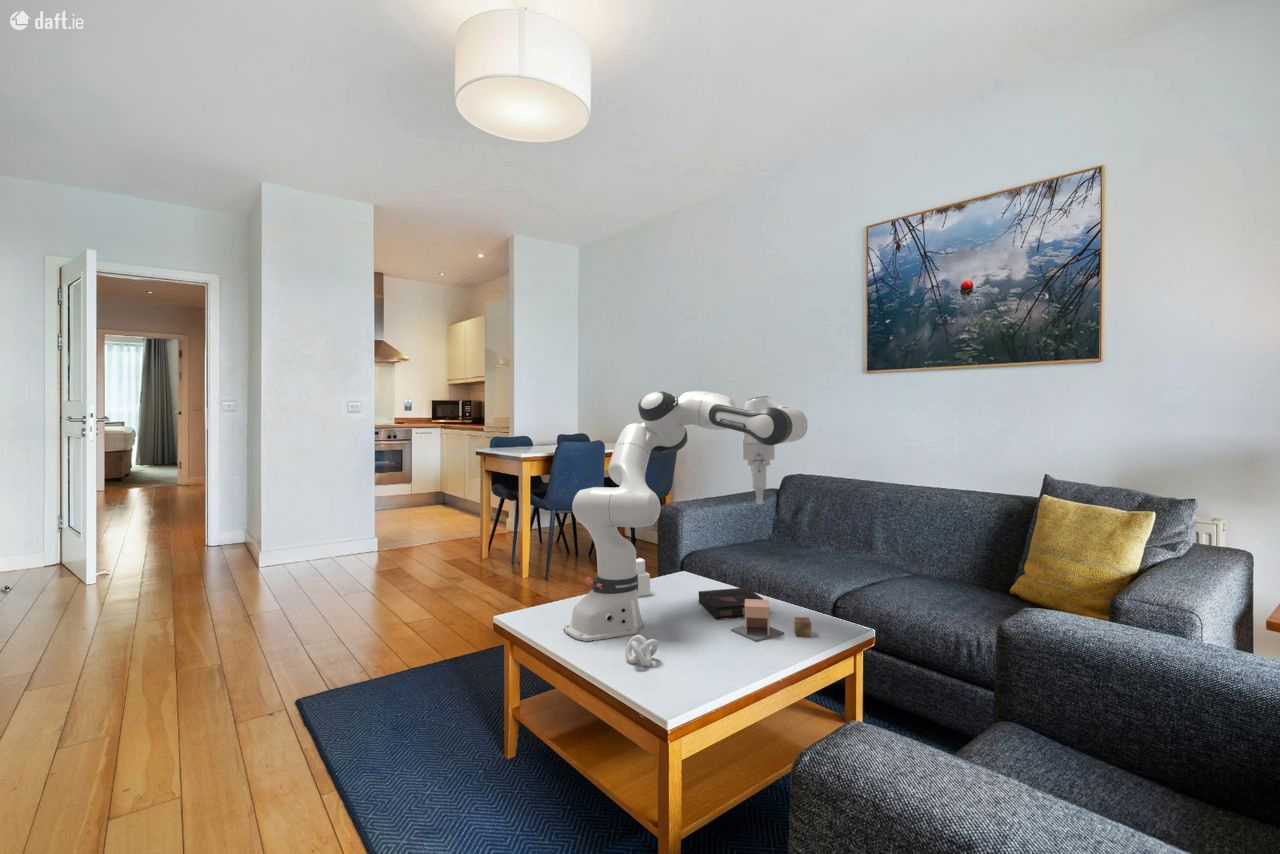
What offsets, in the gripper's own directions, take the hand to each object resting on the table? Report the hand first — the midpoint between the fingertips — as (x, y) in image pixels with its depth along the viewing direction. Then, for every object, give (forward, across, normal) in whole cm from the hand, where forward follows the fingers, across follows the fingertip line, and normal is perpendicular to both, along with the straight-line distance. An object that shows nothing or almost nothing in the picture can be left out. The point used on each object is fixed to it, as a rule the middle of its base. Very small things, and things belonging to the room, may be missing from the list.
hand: (759, 501), depth 174 cm
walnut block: (+34, -10, -11) cm, 37 cm away
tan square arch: (+34, -11, +1) cm, 35 cm away
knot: (+34, -34, +28) cm, 56 cm away
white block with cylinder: (+34, +20, +40) cm, 57 cm away
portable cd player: (+35, +9, +8) cm, 37 cm away
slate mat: (+34, -11, +1) cm, 36 cm away
